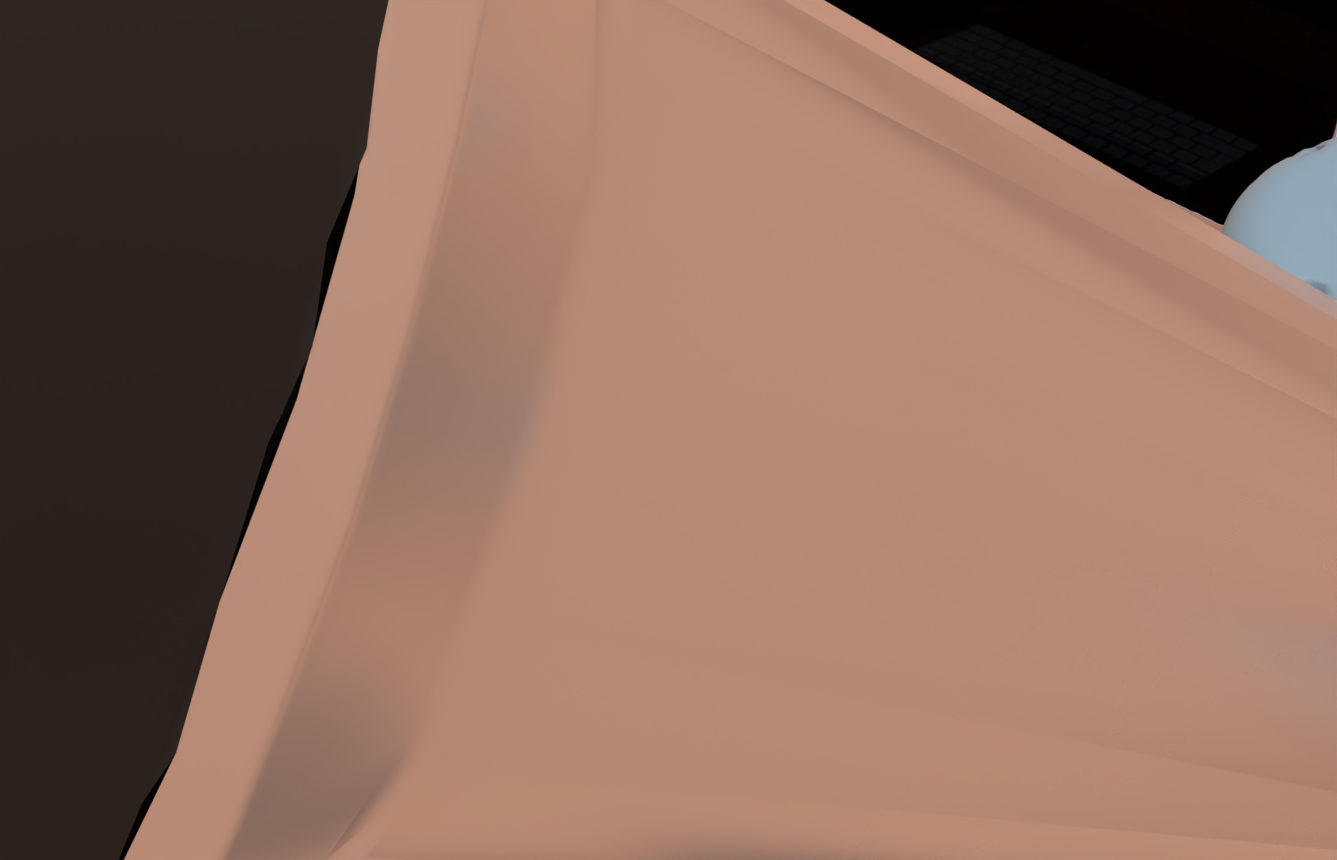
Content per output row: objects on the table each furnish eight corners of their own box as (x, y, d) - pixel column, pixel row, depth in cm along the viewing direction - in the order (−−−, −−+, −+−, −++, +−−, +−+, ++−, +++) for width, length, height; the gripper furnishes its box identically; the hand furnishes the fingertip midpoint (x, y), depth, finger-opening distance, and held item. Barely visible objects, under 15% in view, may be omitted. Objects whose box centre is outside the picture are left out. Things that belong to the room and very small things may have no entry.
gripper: (1104, 942, 38) (529, 942, 45) (1036, 383, 54) (620, 451, 61) (1075, 852, 33) (432, 870, 40) (1010, 264, 49) (559, 354, 56)
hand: (544, 616), depth 51 cm, fingers open, 13 cm apart
